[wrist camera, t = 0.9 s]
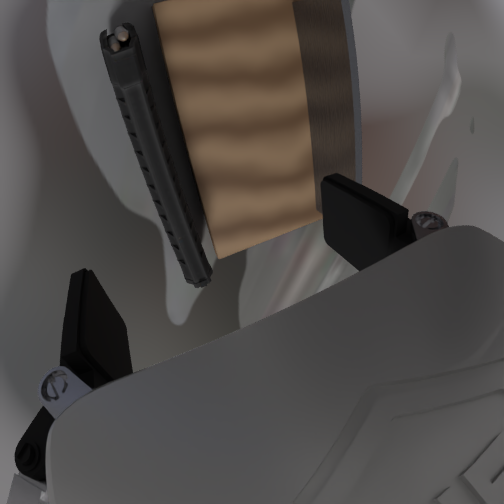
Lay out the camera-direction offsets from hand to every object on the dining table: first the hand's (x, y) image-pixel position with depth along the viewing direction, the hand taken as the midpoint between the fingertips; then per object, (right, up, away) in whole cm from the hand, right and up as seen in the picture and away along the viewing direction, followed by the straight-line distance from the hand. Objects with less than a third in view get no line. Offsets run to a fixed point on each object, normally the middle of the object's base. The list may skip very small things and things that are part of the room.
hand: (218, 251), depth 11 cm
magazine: (-10, +12, +21) cm, 26 cm away
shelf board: (+1, +16, +23) cm, 28 cm away
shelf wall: (+9, +18, +24) cm, 31 cm away
